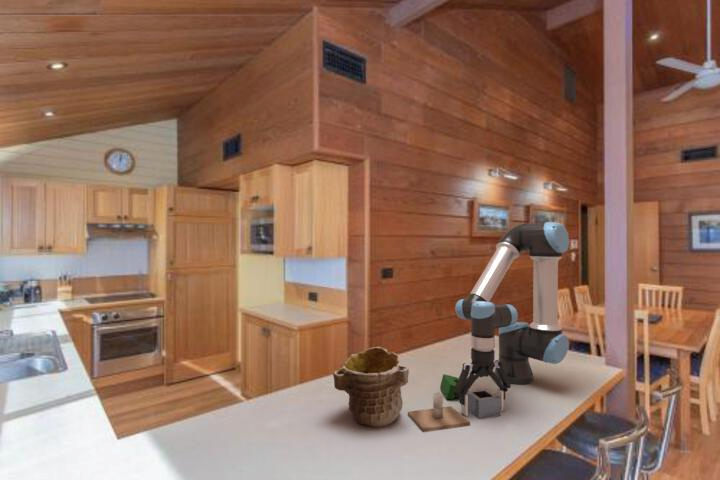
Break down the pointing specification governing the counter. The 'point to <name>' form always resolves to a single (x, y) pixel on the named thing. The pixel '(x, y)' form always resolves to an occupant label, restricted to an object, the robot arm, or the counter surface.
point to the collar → (483, 403)
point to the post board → (438, 416)
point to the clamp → (449, 386)
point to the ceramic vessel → (373, 385)
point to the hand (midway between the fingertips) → (482, 411)
